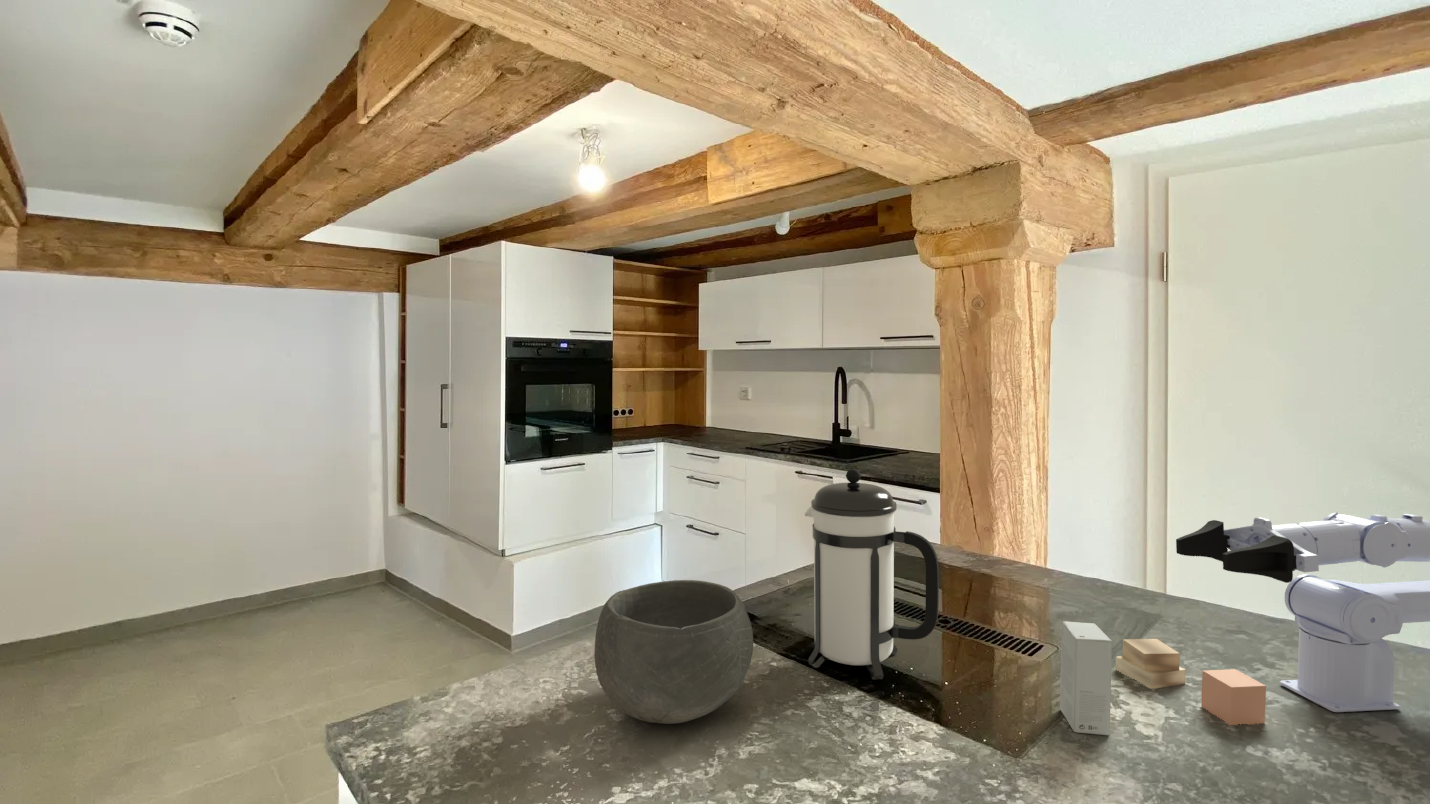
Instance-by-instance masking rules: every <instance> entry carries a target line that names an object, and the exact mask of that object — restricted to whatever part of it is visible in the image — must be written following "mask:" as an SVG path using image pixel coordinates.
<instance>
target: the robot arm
mask: <svg viewBox="0 0 1430 804" xmlns="http://www.w3.org/2000/svg"><path fill="white" fill-rule="evenodd" d="M1224 523H1225V522H1224V521H1220V520H1216V519H1214V520H1213V519H1212V520H1209V521H1208V520H1207V522H1206V524H1204V525H1203V526H1202V527H1201V528H1199V529H1198V530H1196V531H1193V532H1191V533H1188V534H1186V535H1185V534H1184V535H1183V536H1181V537H1178V538H1176V540H1175V545H1176V548H1175V550H1176V554H1178V555H1182V556H1185V557H1186V556H1187V557H1202V558H1204V557H1205V558H1209V559H1214V560H1217V561H1218V562H1219V561H1220V562H1222V569H1223V570H1224V571H1227V572H1232V573H1239V574H1249V575H1255V576H1256V575H1257V576H1263V577H1268V578H1271V579H1274V580H1276V581H1279V582H1283V583H1288V584H1287V587H1286V588H1285V592H1284V597H1283V598H1284V604H1285V607H1286V609H1287V610H1288V612H1289V613H1290V614H1292V616H1294V624H1296V625H1298V626H1299V631H1298V657H1297V658H1298V659H1297V661H1298V662H1297V679H1288V680H1287V679H1286V680H1280V681H1279V684H1280V685H1281V686H1283V687H1285V688H1286V689H1288V690H1290V691H1292V692H1294V693H1296V694H1298V695H1300V696H1302V697H1304V698H1306V699H1308V700H1309V701H1311V702H1313V703H1315V704H1317V705H1318V706H1321V707H1323V708H1324V709H1327V710H1328V711H1330V712H1334V713H1344V712H1347V713H1348V712H1365V711H1367V712H1369V711H1386V710H1388V711H1389V710H1400V707H1401V705H1399V704H1398V703H1396V702H1394V688H1395V685H1394V684H1395V668H1396V667H1395V666H1396V665H1395V663H1396V662H1395V655H1394V653H1393V650H1392V649H1391V647H1390V645H1389V644H1388V642H1386V641H1385V640H1384V639H1383V638H1385V637H1386V636H1387V637H1388V636H1389V635H1399V634H1400V633H1401V630H1402V628H1403V624H1411V623H1412V624H1413V623H1425V622H1426V623H1428V622H1430V580H1429V579H1428V580H1412V581H1395V582H1394V581H1393V582H1392V581H1391V582H1379V583H1378V582H1377V583H1360V582H1359V583H1357V582H1351V581H1346V580H1339V579H1324V578H1321V577H1318V576H1316V575H1314V574H1309V573H1311V572H1312V573H1314V572H1319V571H1320V570H1319V569H1320V566H1324V565H1326V566H1328V565H1335V564H1343V563H1354V562H1355V563H1356V562H1361V563H1365V564H1368V565H1372V566H1379V567H1381V568H1388V567H1390V566H1392V565H1393V564H1395V563H1396V562H1415V563H1416V562H1417V563H1418V562H1420V563H1421V562H1426V563H1427V562H1428V563H1430V520H1427V519H1423V516H1422V515H1417V514H1412V513H1403V514H1402V515H1401V518H1396V517H1395V518H1394V517H1393V518H1392V517H1390V518H1389V517H1387V516H1386V515H1382V514H1371V515H1370V517H1366V518H1364V517H1359V516H1355V515H1349V514H1342V513H1341V514H1340V513H1338V512H1333V513H1330V514H1328V515H1327V516H1326V517H1324V518H1323V519H1322V520H1314V521H1302V522H1293V523H1283V524H1282V523H1281V524H1272V521H1271V520H1270V519H1269V518H1264V517H1260V516H1259V517H1254V518H1253V524H1252V525H1247V526H1241V527H1234V528H1229V529H1226V528H1225V529H1224V525H1225V524H1224ZM1295 571H1298V572H1302V573H1305V574H1300V575H1298V576H1295V577H1294V572H1295Z"/></svg>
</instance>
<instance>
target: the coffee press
mask: <svg viewBox="0 0 1430 804" xmlns="http://www.w3.org/2000/svg"><path fill="white" fill-rule="evenodd" d="M845 477H846V479H847V481H848V482H838V483H836V482H835V483H832V484H827V485H825V486H823V487H821V488H820V489H818V491H817V492H816V493H815V496H814V498H813V499H812V500H811V502H810V503H811V504H810V505H811V506H810V507H808V509H807V510H806V511H805V513H804V516H805V517H808V518H813V524H812V539H813V550H814V551H813V553H814V555H813V563H814V564H813V567H814V569H813V572H814V573H813V574H814V575H813V578H814V579H813V580H814V581H813V583H814V586H813V589H814V590H813V591H814V592H813V593H814V595H813V600H814V604H813V607H814V608H813V609H814V613H813V615H814V617H813V618H814V621H813V622H814V649H813V651H812V652H811V654H810V655H809V657H808V659H807V660H808V664H809V665H810V666H811V667H812V668H814V669H819V668H820V667H821V666H822V665H823V664H824V662H826V661H827V660H830V661H833V662H836V663H839V664H843V665H848V666H849V665H850V666H865V667H866V668H867V671H868V673H869V676H870V678H871V681H872V680H873V681H876V680H877V681H878V680H882V679H883V678H884V671H883V669H882V665H881V663H882V662H883V661H885V660H887V659H888V658H889V656H895V655H896V654H897V653H898V648H897V646H896V644H895V643H894V639H901V640H902V639H903V640H921V639H924V638H926V637H927V636H929V635H931V634H932V631H934V629H935V627H936V625H937V623H938V622H937V621H938V618H939V617H938V616H939V601H940V600H939V599H940V597H939V596H940V594H939V592H940V590H939V589H940V587H939V586H940V584H939V583H940V580H939V579H940V578H939V576H940V575H939V574H940V573H939V570H940V569H939V560H938V556H937V552H936V549H935V548H934V546H933V545H932V544H931V542H930V541H929V540H928V539H927V538H926V537H924V536H922V535H921V534H919V533H917V532H913V531H907V530H906V531H896V527H895V518H894V517H895V513H896V511H897V507H898V506H897V503H896V501H895V500H894V499H893V496H892V493H890V492H889V491H888V490H887V489H886V488H884V487H882V486H879V485H876V484H872V483H865V482H859V481H860V479H861V477H862V475H861V472H860V471H859V470H858V469H857V468H851V469H848V470H847V471H846V474H845ZM895 542H896V543H901V544H902V543H903V544H905V545H910V546H913V547H914V548H916V549H917V550H919V552H920V553H921V554H922V557H923V559H924V564H925V611H924V620H923V621H922V622H921V624H919V625H917V626H906V625H905V626H904V625H900V624H896V621H895V619H894V612H895V611H894V609H895V608H894V603H895V602H894V599H895V598H894V597H895V596H894V593H895V592H894V587H895V584H894V579H895V577H894V576H895V575H894V574H895V573H894V571H895V567H894V566H895V565H894V564H895V563H894V562H895V560H894V559H895V552H894V551H895V549H894V548H895V547H894V546H895ZM819 653H820V654H821V656H820V657H818V656H819ZM817 657H818V659H817ZM816 659H817V660H816ZM815 660H816V661H815Z"/></svg>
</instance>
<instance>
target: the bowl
mask: <svg viewBox="0 0 1430 804" xmlns="http://www.w3.org/2000/svg"><path fill="white" fill-rule="evenodd" d="M753 649H754V633H753V627H752V623H751V619H750V617H749V614H748V611H747V609H746V607H745V605H744V602H743V601H742V600H741V598H740V597H739V596H738V594H737V593H736V592H735V591H734V590H732V589H731V588H729V587H727V586H725V585H722V584H719V583H715V582H712V581H711V582H710V581H704V580H697V579H696V580H695V579H678V580H677V579H676V580H665V581H664V580H663V581H657V582H652V583H645V584H641V585H639V586H634V587H630V588H627V589H623V590H619V591H616V592H614V594H612V595H611V596H610V597H609V598H608V599H607V600H606V602H605V603H604V604H603V606H602V610H601V612H600V615H599V616H598V621H597V626H596V631H595V638H594V651H593V652H594V655H593V656H594V665H595V666H594V667H595V671H596V675H597V680H598V681H599V685H600V688H601V689H602V691H603V692H604V694H605V696H606V697H607V699H608V700H609V701H610V703H611V704H613V705H614V706H615V707H616V708H618V709H619V710H620V711H621V712H623V713H624V714H625V715H627V716H629V717H632V718H634V719H637V720H639V721H643V722H647V723H652V724H653V723H654V724H655V723H656V724H667V725H668V724H669V725H670V724H671V725H673V724H681V723H687V722H689V721H693V720H695V719H698V718H701V717H704V716H706V715H708V714H710V713H712V712H714V711H716V710H718V708H720V707H721V706H722V705H724V704H725V703H726V702H727V701H729V700H730V699H731V698H732V697H733V696H734V695H735V694H736V693H737V692H738V690H739V689H740V688H741V686H742V684H743V682H744V680H745V679H746V676H747V673H748V670H749V668H750V665H751V662H752V657H753V651H754V650H753Z"/></svg>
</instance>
